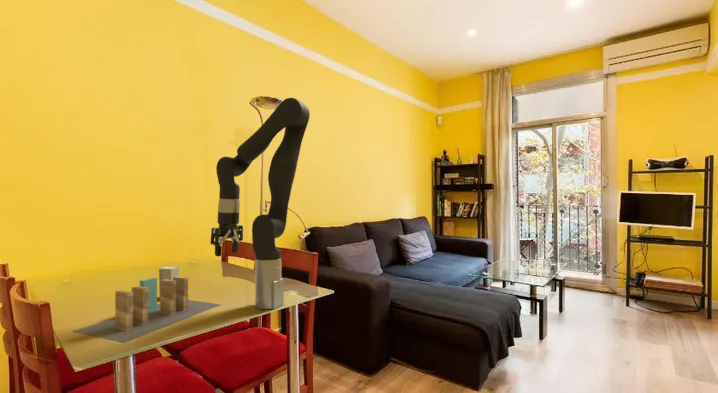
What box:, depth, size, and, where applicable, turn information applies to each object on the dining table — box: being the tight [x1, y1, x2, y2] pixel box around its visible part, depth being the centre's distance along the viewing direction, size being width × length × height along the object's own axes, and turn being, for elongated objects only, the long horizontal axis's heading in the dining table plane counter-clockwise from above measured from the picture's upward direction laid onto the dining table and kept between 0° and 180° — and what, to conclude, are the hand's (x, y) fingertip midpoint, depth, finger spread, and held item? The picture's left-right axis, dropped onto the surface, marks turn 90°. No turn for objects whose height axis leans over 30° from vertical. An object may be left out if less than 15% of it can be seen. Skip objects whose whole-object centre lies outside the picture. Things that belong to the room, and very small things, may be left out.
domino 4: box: [159, 279, 176, 315], centre depth 118 cm, size 2×5×11 cm, turn 69°
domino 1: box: [114, 289, 133, 331], centre depth 104 cm, size 2×5×11 cm, turn 69°
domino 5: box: [173, 275, 189, 310], centre depth 123 cm, size 2×5×11 cm, turn 69°
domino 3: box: [131, 285, 149, 325], centre depth 109 cm, size 2×5×11 cm, turn 69°
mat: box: [71, 299, 222, 344], centre depth 114 cm, size 22×36×1 cm, turn 159°
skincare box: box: [158, 265, 180, 294], centre depth 137 cm, size 6×4×12 cm
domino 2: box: [139, 277, 158, 312], centre depth 120 cm, size 2×5×11 cm, turn 159°
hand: (226, 254), depth 130 cm, fingers open, 8 cm apart
